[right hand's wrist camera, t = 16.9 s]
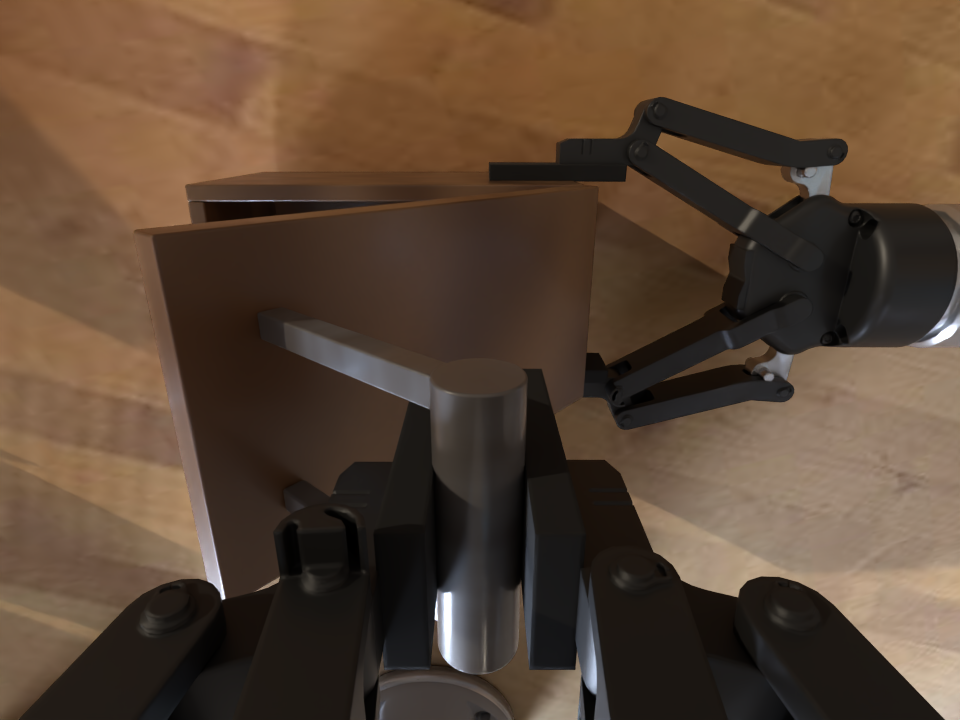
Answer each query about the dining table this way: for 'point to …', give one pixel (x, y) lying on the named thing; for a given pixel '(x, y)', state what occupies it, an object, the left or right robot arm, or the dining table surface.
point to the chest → (336, 191)
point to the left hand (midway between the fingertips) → (488, 275)
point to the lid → (373, 374)
